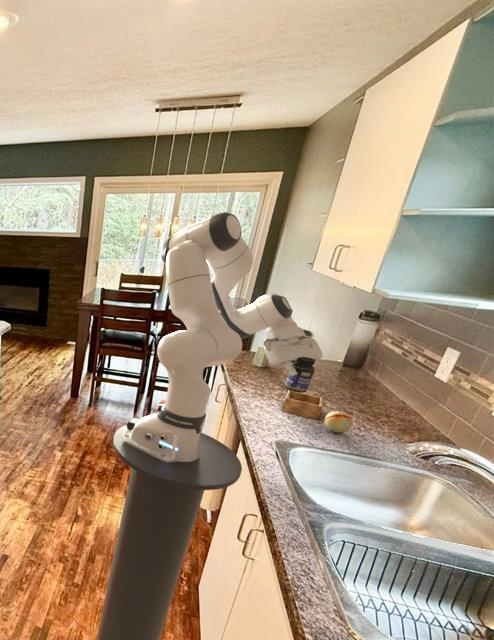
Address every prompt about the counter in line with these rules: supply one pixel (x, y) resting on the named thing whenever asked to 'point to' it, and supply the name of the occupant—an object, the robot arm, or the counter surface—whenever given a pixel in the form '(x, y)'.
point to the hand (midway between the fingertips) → (303, 374)
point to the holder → (303, 404)
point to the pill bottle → (301, 375)
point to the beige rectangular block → (261, 357)
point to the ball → (338, 422)
